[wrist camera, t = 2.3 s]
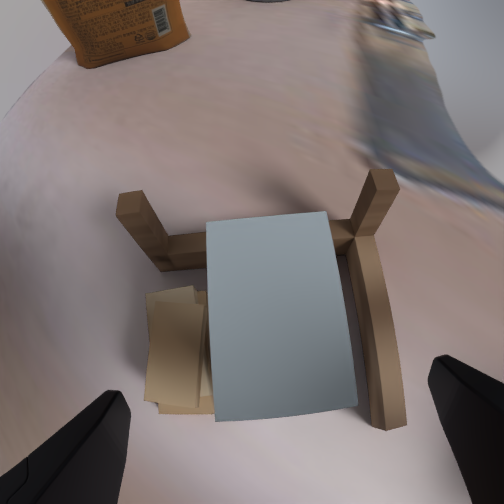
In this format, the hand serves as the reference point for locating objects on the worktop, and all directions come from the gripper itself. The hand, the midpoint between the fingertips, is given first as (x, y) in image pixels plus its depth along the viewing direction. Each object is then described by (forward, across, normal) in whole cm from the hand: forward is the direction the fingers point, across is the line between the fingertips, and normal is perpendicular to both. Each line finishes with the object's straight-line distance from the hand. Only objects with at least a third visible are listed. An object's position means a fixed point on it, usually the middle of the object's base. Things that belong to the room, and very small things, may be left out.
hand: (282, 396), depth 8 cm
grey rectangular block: (+8, 0, +5) cm, 10 cm away
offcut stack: (+8, +5, +5) cm, 11 cm away
